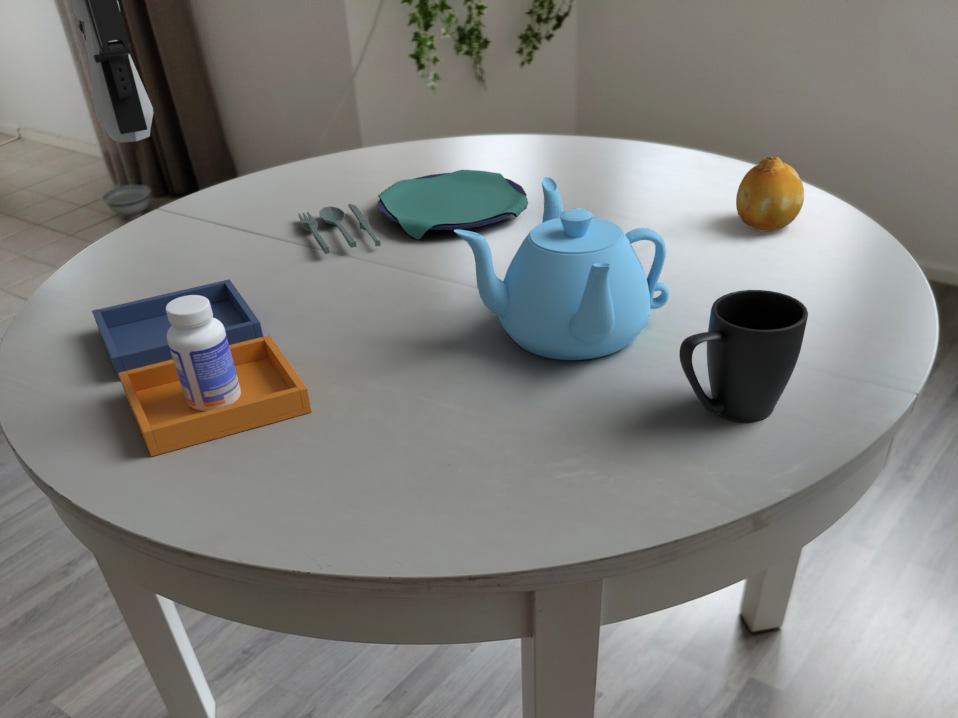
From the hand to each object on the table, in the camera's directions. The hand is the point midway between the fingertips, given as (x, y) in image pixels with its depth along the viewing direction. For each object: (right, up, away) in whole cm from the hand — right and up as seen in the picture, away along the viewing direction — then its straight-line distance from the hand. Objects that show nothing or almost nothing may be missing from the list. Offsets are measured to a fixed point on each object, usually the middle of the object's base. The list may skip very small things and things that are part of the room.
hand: (127, 122), depth 99 cm
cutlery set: (+29, +1, +26) cm, 39 cm away
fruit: (+74, -2, +20) cm, 76 cm away
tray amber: (+11, -31, -6) cm, 34 cm away
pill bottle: (+11, -31, -6) cm, 34 cm away
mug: (+60, -34, -11) cm, 70 cm away
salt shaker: (0, -1, +1) cm, 2 cm away
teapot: (+46, -22, +2) cm, 51 cm away
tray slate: (+4, -21, +4) cm, 22 cm away
